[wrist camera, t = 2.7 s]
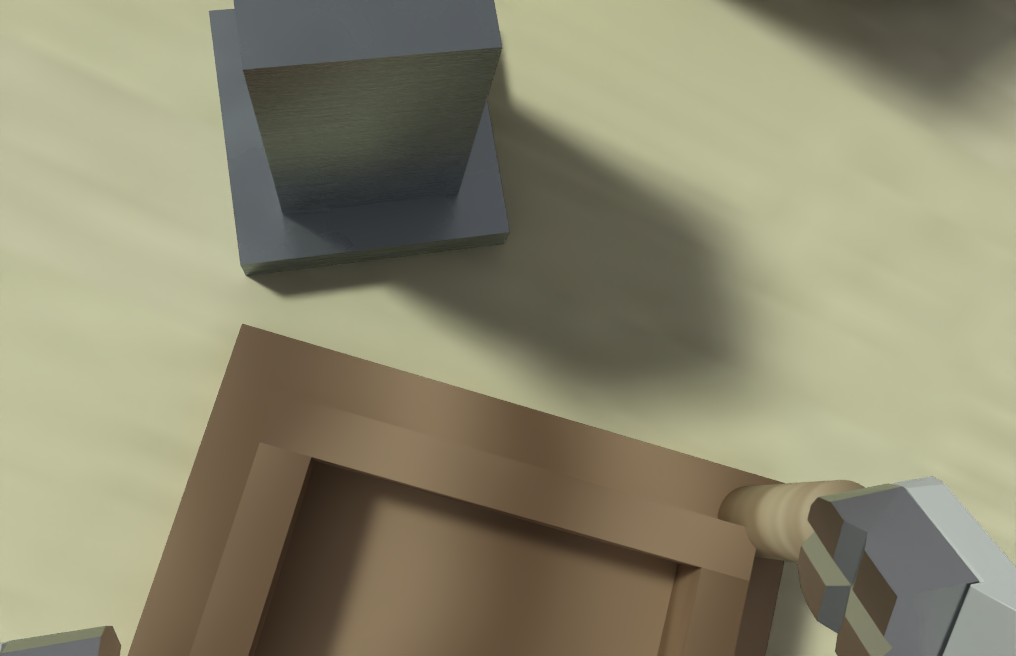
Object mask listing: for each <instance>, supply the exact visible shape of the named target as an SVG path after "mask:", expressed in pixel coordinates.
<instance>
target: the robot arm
mask: <svg viewBox="0 0 1016 656" xmlns="http://www.w3.org/2000/svg"><path fill="white" fill-rule="evenodd" d="M807 520H808V522H809V523H810V525H811V527H812V528H813V530H814V533H813V534H812V535H811V536H810V537H809V538H808V539H807V540H806V541H805V542H804V543H803V544H802V545H801V548H800V554H799V559H798V572H799V579H800V586H801V589H802V592H803V594H804V597H805V600H806V602H807V604H808V606H809V608H810V610H811V611H812V613H813V615H814V617H815V618H816V620H817V621H818V622H820V623H821V624H823V625H825V626H826V627H828V628H830V629H831V630H833V631H834V632H836V633H838V635H837V642H836V649H835V652H836V654H837V655H838V656H1016V566H1015V565H1014V564H1013V563H1012V561H1011V560H1010V559H1009V558H1008V557H1007V556H1006V554H1005V553H1004V552H1003V551H1002V550H1001V549H1000V547H999V546H998V545H997V544H996V543H995V542H994V541H993V539H992V538H991V537H990V536H989V535H988V534H987V532H986V531H985V530H984V529H983V528H982V527H981V525H980V524H979V523H978V522H977V521H976V520H975V519H974V517H973V516H972V515H971V514H970V513H969V512H968V510H967V509H966V508H965V507H964V506H963V505H962V503H961V502H960V501H959V500H958V499H957V498H956V496H955V495H954V494H953V493H952V492H951V491H950V490H949V488H948V487H947V486H946V485H945V484H944V483H943V482H942V481H941V480H939V479H937V478H935V477H933V476H930V477H925V478H919V479H914V480H908V481H902V482H897V483H893V484H883V485H878V486H872V487H867V488H862V489H857V490H852V491H846V492H841V493H836V494H831V495H826V496H821V497H818V498H817V499H816V500H815V501H814V502H813V503H812V504H811V507H810V511H809V514H808V518H807ZM120 649H121V644H120V642H119V640H118V638H117V635H116V633H115V631H114V629H113V626H103V627H96V628H90V629H83V630H77V631H70V632H64V633H57V634H51V635H44V636H38V637H31V638H25V639H18V640H12V641H8V642H2V643H0V656H120Z"/></svg>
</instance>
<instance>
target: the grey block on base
mask: <svg viewBox="0 0 1016 656" xmlns="http://www.w3.org/2000/svg"><path fill="white" fill-rule="evenodd" d="M234 7H235V9H227V10H214V11H209V15H210V23H211V31H212V39H213V47H214V55H215V64H216V72H217V80H218V88H219V96H220V104H221V112H222V120H223V128H224V136H225V144H226V152H227V160H228V168H229V176H230V184H231V192H232V200H233V209H234V217H235V225H236V233H237V241H238V249H239V257H240V265H241V267H242V269H243V271H244V273H245V275H246V276H248V275H256V274H264V273H272V272H280V271H288V270H296V269H304V268H313V267H321V266H329V265H337V264H345V263H353V262H361V261H369V260H377V259H385V258H393V257H401V256H409V255H417V254H425V253H433V252H441V251H449V250H457V249H465V248H473V247H482V246H490V245H498V244H504V242H505V240H506V238H507V236H508V235H509V233H510V230H509V224H508V219H507V213H506V207H505V201H504V195H503V190H502V184H501V178H500V172H499V166H498V161H497V155H496V149H495V143H494V137H493V131H492V126H491V120H490V114H489V108H488V102H487V97H488V93H489V90H490V86H491V83H492V80H493V76H494V73H495V70H496V66H497V63H498V60H499V56H500V53H501V50H502V43H501V37H500V31H499V26H498V20H497V14H496V9H495V3H494V0H234Z"/></svg>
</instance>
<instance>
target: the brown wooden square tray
mask: <svg viewBox="0 0 1016 656" xmlns="http://www.w3.org/2000/svg"><path fill="white" fill-rule="evenodd" d="M862 488H865V487H863V486H862V485H860V484H858V483H855V482H852V481H848V480H834V481H818V482H802V483H782V482H779V481H776V480H772V479H769V478H765V477H762V476H759V475H755V474H752V473H748V472H745V471H742V470H738V469H735V468H731V467H728V466H725V465H721V464H718V463H714V462H711V461H708V460H704V459H701V458H697V457H694V456H691V455H687V454H684V453H680V452H677V451H674V450H670V449H667V448H663V447H660V446H657V445H653V444H650V443H646V442H643V441H639V440H636V439H633V438H629V437H626V436H622V435H619V434H616V433H612V432H609V431H605V430H602V429H599V428H595V427H592V426H588V425H585V424H582V423H578V422H575V421H571V420H568V419H565V418H561V417H558V416H554V415H551V414H548V413H544V412H541V411H537V410H534V409H531V408H527V407H524V406H520V405H517V404H514V403H510V402H507V401H503V400H500V399H497V398H493V397H490V396H486V395H483V394H480V393H476V392H473V391H469V390H466V389H463V388H459V387H456V386H452V385H449V384H446V383H442V382H439V381H435V380H432V379H429V378H425V377H422V376H418V375H415V374H412V373H408V372H405V371H401V370H398V369H395V368H391V367H388V366H384V365H381V364H378V363H374V362H371V361H367V360H364V359H361V358H357V357H354V356H350V355H347V354H344V353H340V352H337V351H333V350H330V349H327V348H323V347H320V346H316V345H313V344H310V343H306V342H303V341H299V340H296V339H292V338H289V337H286V336H282V335H279V334H275V333H272V332H269V331H265V330H262V329H258V328H255V327H252V326H248V325H245V324H242V326H241V329H240V331H239V334H238V337H237V340H236V343H235V346H234V349H233V352H232V355H231V358H230V360H229V363H228V366H227V369H226V372H225V375H224V378H223V381H222V384H221V387H220V389H219V392H218V395H217V398H216V401H215V404H214V407H213V410H212V413H211V416H210V418H209V421H208V424H207V427H206V430H205V433H204V436H203V439H202V442H201V445H200V447H199V450H198V453H197V456H196V459H195V462H194V465H193V468H192V471H191V473H190V476H189V479H188V482H187V485H186V488H185V491H184V494H183V497H182V500H181V502H180V505H179V508H178V511H177V514H176V517H175V520H174V523H173V526H172V529H171V531H170V534H169V537H168V540H167V543H166V546H165V549H164V552H163V555H162V558H161V560H160V563H159V566H158V569H157V572H156V575H155V578H154V581H153V584H152V587H151V589H150V592H149V595H148V598H147V601H146V604H145V607H144V610H143V613H142V616H141V618H140V621H139V624H138V627H137V630H136V633H135V636H134V639H133V642H132V645H131V647H130V650H129V653H128V656H765V654H766V649H767V644H768V640H769V635H770V630H771V625H772V620H773V615H774V610H775V605H776V600H777V595H778V590H779V585H780V580H781V575H782V570H783V565H784V561H791V562H798V559H799V554H800V548H801V545H802V544H803V543H804V542H805V541H806V540H807V539H808V538H809V537H810V536H811V535H812V534H813V533H814V530H813V528H812V527H811V525H810V523H809V522H808V520H807V518H808V514H809V511H810V507H811V504H812V503H813V502H814V501H815V500H816V499H817V498H818V497H821V496H826V495H831V494H836V493H841V492H846V491H852V490H857V489H862Z"/></svg>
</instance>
